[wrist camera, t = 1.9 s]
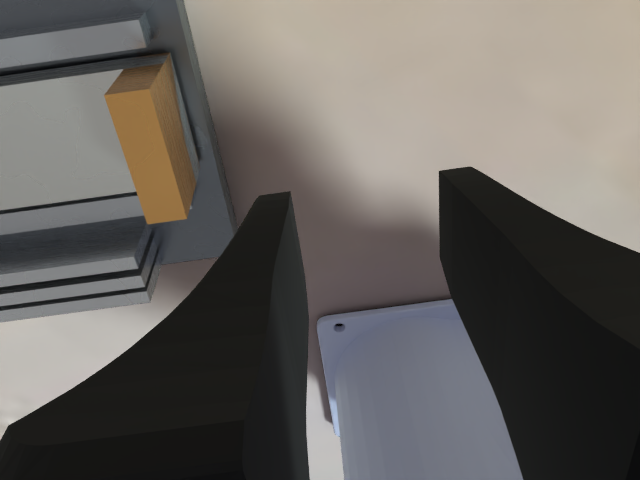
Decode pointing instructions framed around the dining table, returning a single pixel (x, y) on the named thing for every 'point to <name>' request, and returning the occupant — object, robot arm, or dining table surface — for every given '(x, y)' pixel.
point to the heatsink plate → (113, 210)
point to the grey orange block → (98, 136)
